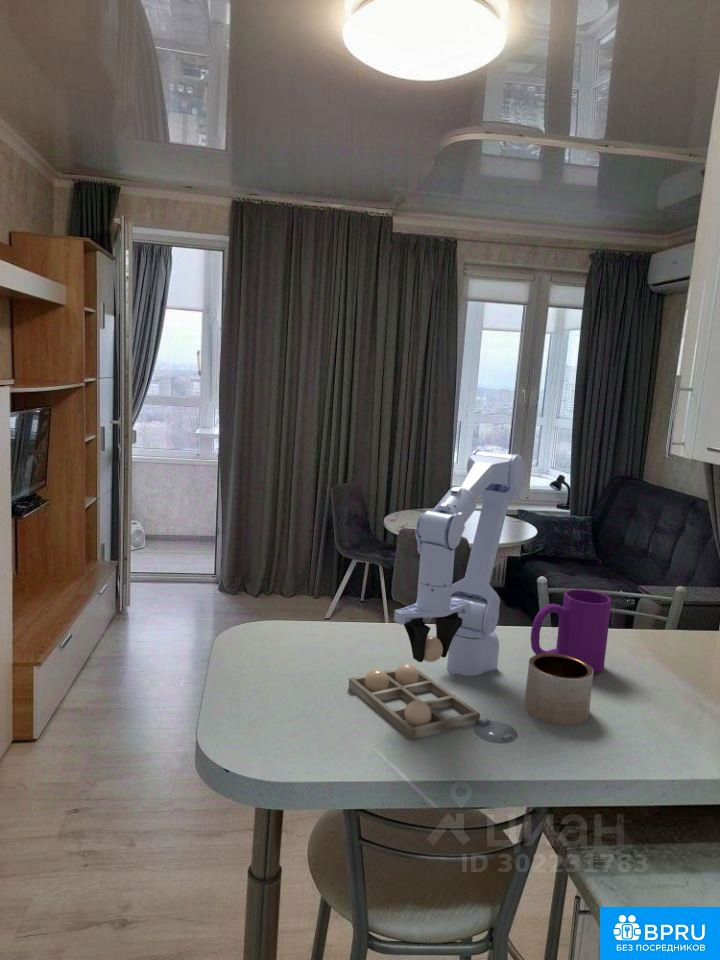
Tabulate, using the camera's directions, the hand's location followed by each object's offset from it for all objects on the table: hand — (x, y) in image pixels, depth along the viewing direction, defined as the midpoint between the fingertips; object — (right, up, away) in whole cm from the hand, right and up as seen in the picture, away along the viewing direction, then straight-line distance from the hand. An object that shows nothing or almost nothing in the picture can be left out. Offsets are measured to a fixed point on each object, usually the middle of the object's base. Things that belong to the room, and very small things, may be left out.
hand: (429, 657), depth 120 cm
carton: (-3, -9, 0) cm, 10 cm away
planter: (+22, -11, +1) cm, 24 cm away
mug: (+30, -8, +23) cm, 38 cm away
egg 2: (-4, -7, +7) cm, 10 cm away
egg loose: (0, -1, 0) cm, 1 cm away
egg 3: (-3, -9, -7) cm, 12 cm away
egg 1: (-9, -7, +4) cm, 12 cm away
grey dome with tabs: (+10, -11, -8) cm, 17 cm away
